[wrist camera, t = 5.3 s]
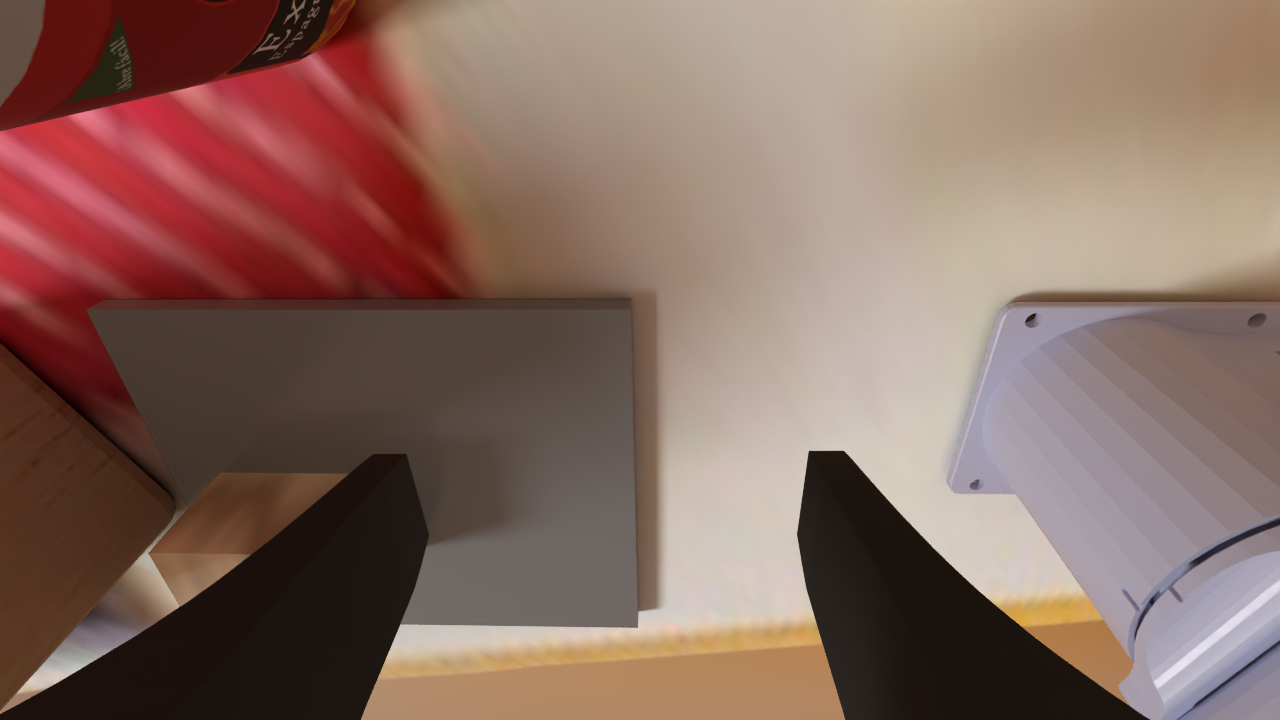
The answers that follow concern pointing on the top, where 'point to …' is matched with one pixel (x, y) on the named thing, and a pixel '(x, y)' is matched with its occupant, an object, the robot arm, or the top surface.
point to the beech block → (232, 525)
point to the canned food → (144, 48)
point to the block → (60, 520)
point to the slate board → (418, 429)
